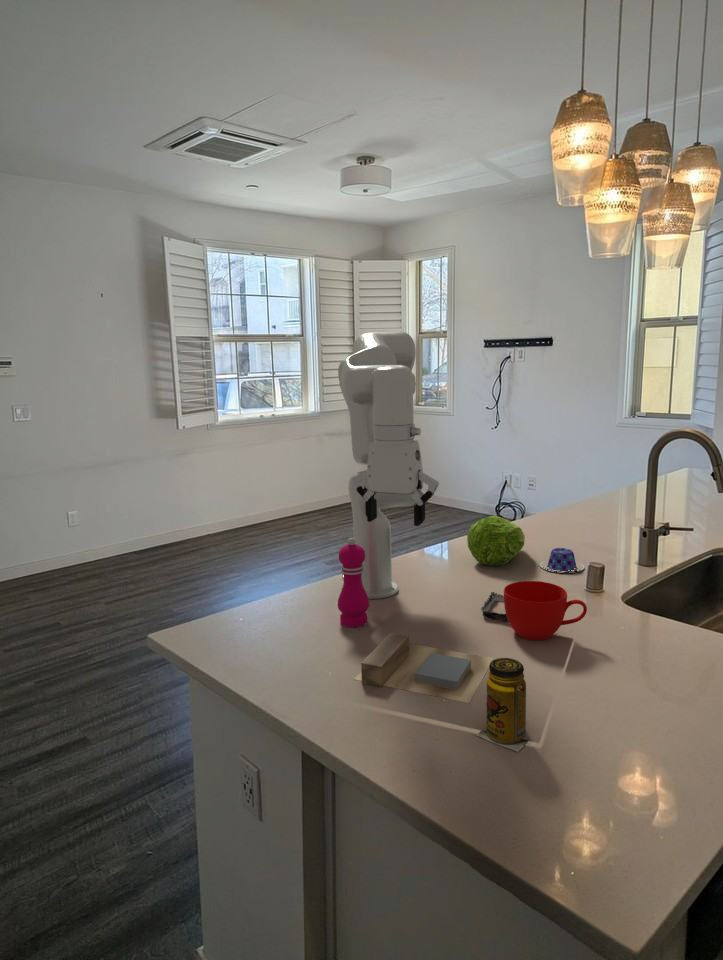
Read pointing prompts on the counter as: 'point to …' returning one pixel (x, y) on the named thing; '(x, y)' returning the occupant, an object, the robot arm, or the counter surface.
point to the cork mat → (464, 693)
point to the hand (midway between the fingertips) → (395, 522)
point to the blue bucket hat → (561, 560)
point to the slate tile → (443, 671)
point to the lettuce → (495, 540)
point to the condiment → (506, 704)
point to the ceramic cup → (537, 608)
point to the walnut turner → (385, 659)
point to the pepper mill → (352, 586)
